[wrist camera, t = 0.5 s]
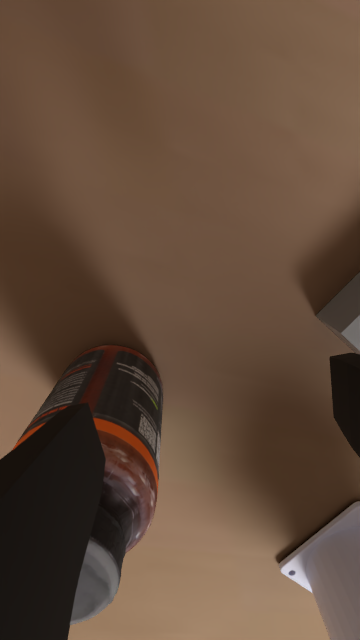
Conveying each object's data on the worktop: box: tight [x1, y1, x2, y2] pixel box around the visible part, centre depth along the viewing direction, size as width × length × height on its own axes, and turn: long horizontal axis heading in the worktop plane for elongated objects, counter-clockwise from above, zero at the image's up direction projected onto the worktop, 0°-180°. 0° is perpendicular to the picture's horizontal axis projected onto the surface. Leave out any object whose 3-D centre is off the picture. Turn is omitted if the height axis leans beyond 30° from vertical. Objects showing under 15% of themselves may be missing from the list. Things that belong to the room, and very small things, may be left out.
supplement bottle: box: [13, 345, 163, 625], centre depth 15 cm, size 6×6×11 cm
